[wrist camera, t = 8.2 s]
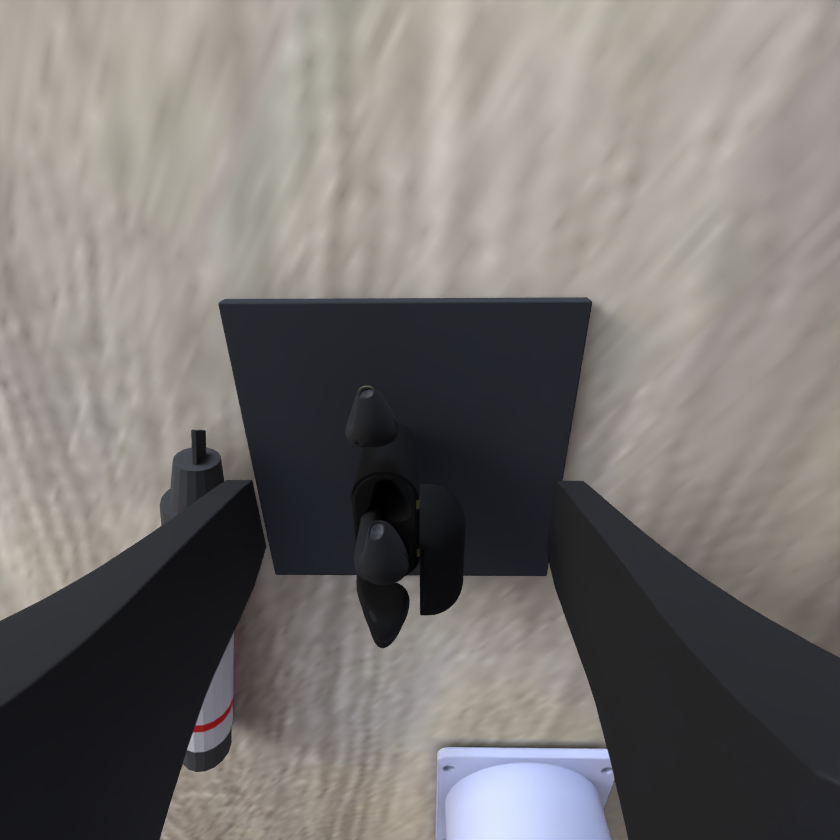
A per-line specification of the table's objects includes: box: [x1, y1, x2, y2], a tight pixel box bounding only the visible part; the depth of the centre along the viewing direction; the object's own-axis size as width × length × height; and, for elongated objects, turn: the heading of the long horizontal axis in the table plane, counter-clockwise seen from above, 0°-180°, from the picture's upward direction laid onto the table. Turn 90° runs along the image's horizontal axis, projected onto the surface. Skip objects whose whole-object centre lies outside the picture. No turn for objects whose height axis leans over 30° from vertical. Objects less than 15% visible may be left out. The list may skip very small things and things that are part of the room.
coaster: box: [219, 298, 592, 576], centre depth 13 cm, size 9×9×1 cm
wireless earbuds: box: [345, 386, 466, 648], centre depth 11 cm, size 7×2×5 cm, turn 0°
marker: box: [160, 430, 234, 772], centre depth 15 cm, size 15×2×2 cm, turn 169°
